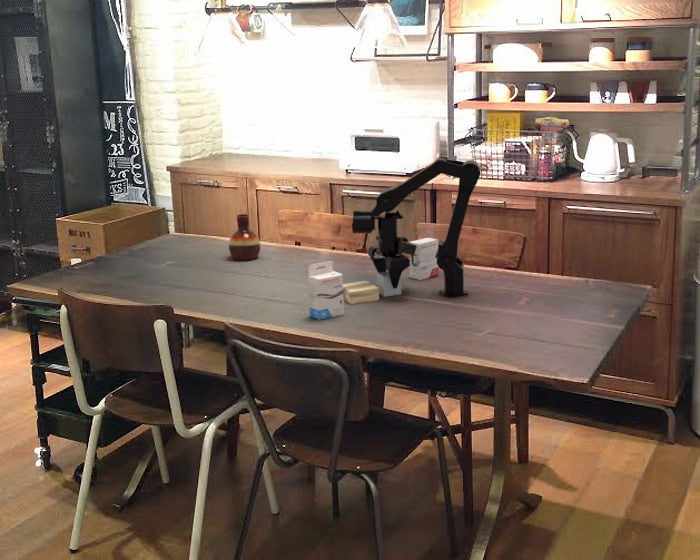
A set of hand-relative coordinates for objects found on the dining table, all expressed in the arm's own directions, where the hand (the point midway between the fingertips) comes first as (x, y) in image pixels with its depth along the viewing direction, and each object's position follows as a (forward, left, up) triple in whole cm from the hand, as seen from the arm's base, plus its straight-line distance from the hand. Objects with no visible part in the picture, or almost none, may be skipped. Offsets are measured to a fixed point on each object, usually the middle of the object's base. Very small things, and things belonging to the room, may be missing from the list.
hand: (389, 284), depth 262 cm
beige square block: (-1, +10, -3) cm, 11 cm away
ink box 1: (-12, +24, -3) cm, 27 cm away
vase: (+63, +29, -3) cm, 70 cm away
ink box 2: (+12, -17, -3) cm, 21 cm away
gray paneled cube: (0, 0, -3) cm, 3 cm away
